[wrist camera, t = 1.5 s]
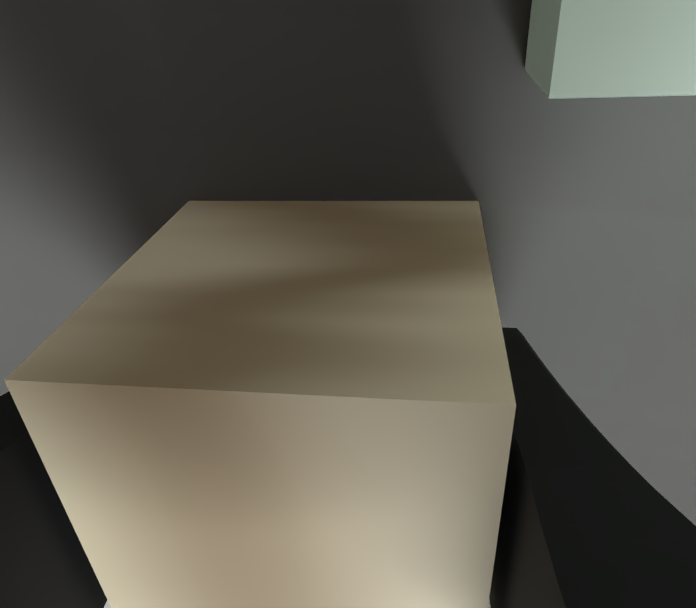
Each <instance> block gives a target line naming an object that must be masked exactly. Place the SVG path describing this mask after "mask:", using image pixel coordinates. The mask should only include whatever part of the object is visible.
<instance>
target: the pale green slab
mask: <svg viewBox="0 0 696 608" xmlns="http://www.w3.org/2000/svg"><path fill="white" fill-rule="evenodd" d="M525 71H526V72H527V73H528V75H529V76H530V77H531V78H532V79H533V80H534V82H535V83H536V84H537V85H538V86H539V88H540V89H541V90H542V91H543V92H544V94H545V95H546V96H547V97H548V98H549V99H558V98H600V97H641V96H682V95H696V0H532V6H531V15H530V25H529V34H528V43H527V53H526V62H525Z"/></svg>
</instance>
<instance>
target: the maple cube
mask: <svg viewBox="0 0 696 608" xmlns="http://www.w3.org/2000/svg"><path fill="white" fill-rule="evenodd" d="M4 381H5V383H6V385H7V387H8V389H9V392H10V394H11V396H12V398H13V400H14V402H15V404H16V406H17V409H18V411H19V413H20V415H21V417H22V419H23V421H24V423H25V426H26V428H27V430H28V432H29V434H30V436H31V438H32V440H33V443H34V445H35V447H36V449H37V451H38V453H39V455H40V457H41V460H42V462H43V464H44V466H45V468H46V470H47V472H48V474H49V477H50V479H51V481H52V483H53V485H54V487H55V489H56V491H57V494H58V496H59V498H60V500H61V502H62V504H63V506H64V508H65V511H66V513H67V515H68V517H69V519H70V521H71V523H72V525H73V528H74V530H75V532H76V534H77V536H78V538H79V540H80V542H81V545H82V547H83V549H84V551H85V553H86V555H87V557H88V559H89V562H90V564H91V566H92V568H93V570H94V572H95V574H96V576H97V579H98V581H99V583H100V585H101V587H102V589H103V591H104V594H105V596H106V598H107V600H108V602H109V604H110V606H111V608H488V603H489V596H490V589H491V582H492V574H493V567H494V560H495V553H496V546H497V539H498V532H499V525H500V517H501V510H502V503H503V496H504V489H505V482H506V475H507V467H508V460H509V453H510V446H511V439H512V432H513V425H514V417H515V410H516V402H515V396H514V391H513V385H512V380H511V374H510V369H509V364H508V358H507V353H506V347H505V342H504V337H503V331H502V326H501V320H500V315H499V310H498V304H497V299H496V293H495V288H494V283H493V277H492V272H491V266H490V261H489V255H488V250H487V245H486V239H485V234H484V228H483V223H482V218H481V212H480V207H479V201H188V202H187V203H186V204H185V205H184V206H183V207H182V208H181V209H180V210H179V211H178V212H177V213H176V214H175V215H174V216H173V217H172V218H171V219H170V220H169V221H168V222H167V223H166V224H164V225H163V226H162V227H161V228H160V229H159V230H158V231H157V232H156V233H155V234H154V235H153V236H152V237H151V238H150V239H149V240H148V241H147V242H146V243H145V244H144V245H143V246H142V247H141V248H140V249H139V250H138V251H137V252H136V253H135V254H134V255H132V256H131V257H130V258H129V259H128V260H127V261H126V262H125V263H124V264H123V265H122V266H121V267H120V268H119V269H118V270H117V271H116V272H115V273H114V274H113V275H112V276H111V277H110V278H109V279H108V280H107V281H106V282H105V283H104V284H103V285H102V286H101V287H99V288H98V289H97V290H96V291H95V292H94V293H93V294H92V295H91V296H90V297H89V298H88V299H87V300H86V301H85V302H84V303H83V304H82V305H81V306H80V307H79V308H78V309H77V310H76V311H75V312H74V313H73V314H72V315H71V316H70V317H69V318H67V319H66V320H65V321H64V322H63V323H62V324H61V325H60V326H59V327H58V328H57V329H56V330H55V331H54V332H53V333H52V334H51V335H50V336H49V337H48V338H47V339H46V340H45V341H44V342H43V343H42V344H41V345H40V346H39V347H38V348H37V349H35V350H34V351H33V352H32V353H31V354H30V355H29V356H28V357H27V358H26V359H25V360H24V361H23V362H22V363H21V364H20V365H19V366H18V367H17V368H16V369H15V370H14V371H13V372H12V373H11V374H10V375H9V376H8V377H7V378H6V379H5V380H4Z"/></svg>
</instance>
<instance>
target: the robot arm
mask: <svg viewBox="0 0 696 608" xmlns="http://www.w3.org/2000/svg"><path fill="white" fill-rule="evenodd" d="M502 331H503V337H504V342H505V347H506V353H507V358H508V364H509V369H510V374H511V380H512V385H513V391H514V396H515V402H516V410H515V417H514V425H513V432H512V439H511V446H510V453H509V460H508V467H507V475H506V482H505V489H504V496H503V503H502V510H501V517H500V525H499V532H498V539H497V546H496V553H495V560H494V567H493V574H492V582H491V589H490V596H489V598H490V605H491V608H696V526H695V525H694V524H693V523H692V522H691V521H689V520H688V519H687V518H686V517H685V516H684V515H683V514H682V513H681V512H679V511H678V510H677V509H676V508H675V507H674V506H673V505H672V504H671V503H670V502H668V501H667V500H666V499H665V498H664V497H663V496H662V495H661V494H660V493H658V492H657V491H656V490H655V489H654V488H653V487H652V486H651V485H650V484H649V483H648V482H647V481H646V480H645V479H644V478H643V477H642V476H641V475H640V474H639V473H638V472H637V471H636V470H635V469H634V468H633V467H632V466H631V465H630V464H629V463H628V462H627V461H626V460H625V458H624V457H623V456H622V455H621V454H620V453H619V452H618V451H617V450H616V449H615V448H614V447H613V446H612V445H611V444H610V443H609V442H608V441H607V439H606V438H605V437H604V436H603V435H602V434H601V433H600V432H599V431H598V429H597V428H596V427H595V426H594V425H593V424H592V423H591V422H590V420H589V419H588V418H587V417H586V416H585V414H584V413H583V412H582V411H581V410H580V409H579V407H578V406H577V405H576V404H575V403H574V401H573V400H572V399H571V398H570V397H569V396H568V394H567V393H566V392H565V391H564V389H563V388H562V387H561V386H560V384H559V383H558V382H557V381H556V379H555V378H554V377H553V375H552V374H551V373H550V372H549V370H548V369H547V368H546V366H545V365H544V364H543V362H542V361H541V360H540V358H539V357H538V356H537V354H536V353H535V351H534V350H533V349H532V347H531V346H530V344H529V343H528V342H527V340H526V339H525V337H524V336H523V335H522V334H521V332H520V331H519V330H518V329H517V328H502ZM106 601H107V598H106V596H105V594H104V591H103V589H102V587H101V585H100V583H99V581H98V579H97V576H96V574H95V572H94V570H93V568H92V566H91V564H90V562H89V559H88V557H87V555H86V553H85V551H84V549H83V547H82V545H81V542H80V540H79V538H78V536H77V534H76V532H75V530H74V528H73V525H72V523H71V521H70V519H69V517H68V515H67V513H66V511H65V508H64V506H63V504H62V502H61V500H60V498H59V496H58V494H57V491H56V489H55V487H54V485H53V483H52V481H51V479H50V477H49V474H48V472H47V470H46V468H45V466H44V464H43V462H42V460H41V457H40V455H39V453H38V451H37V449H36V447H35V445H34V443H33V440H32V438H31V436H30V434H29V432H28V430H27V428H26V426H25V423H24V421H23V419H22V417H21V415H20V413H19V411H18V409H17V406H16V404H15V402H14V400H13V398H12V396H11V394H10V392H7V393H6V394H4V395H2V396H0V608H104V605H105V603H106Z"/></svg>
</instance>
